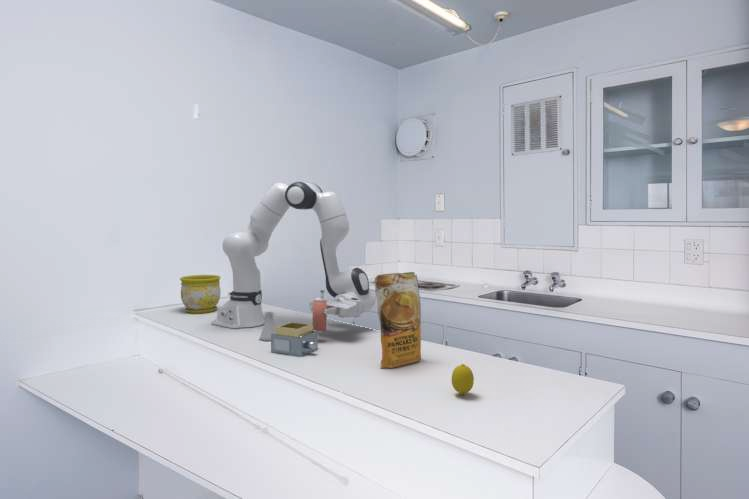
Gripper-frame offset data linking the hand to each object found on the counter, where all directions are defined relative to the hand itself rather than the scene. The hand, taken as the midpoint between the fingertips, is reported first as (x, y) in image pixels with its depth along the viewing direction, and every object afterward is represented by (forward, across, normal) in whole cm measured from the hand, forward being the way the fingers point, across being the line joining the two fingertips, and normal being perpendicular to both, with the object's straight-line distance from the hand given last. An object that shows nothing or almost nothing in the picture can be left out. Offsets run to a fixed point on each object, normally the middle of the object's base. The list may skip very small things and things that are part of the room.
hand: (317, 310), depth 169 cm
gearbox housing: (+13, +4, +11) cm, 17 cm away
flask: (+9, -16, +12) cm, 22 cm away
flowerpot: (-4, -83, +13) cm, 84 cm away
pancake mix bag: (+1, +38, +11) cm, 39 cm away
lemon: (+12, +65, +10) cm, 67 cm away
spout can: (-1, 0, +7) cm, 7 cm away
